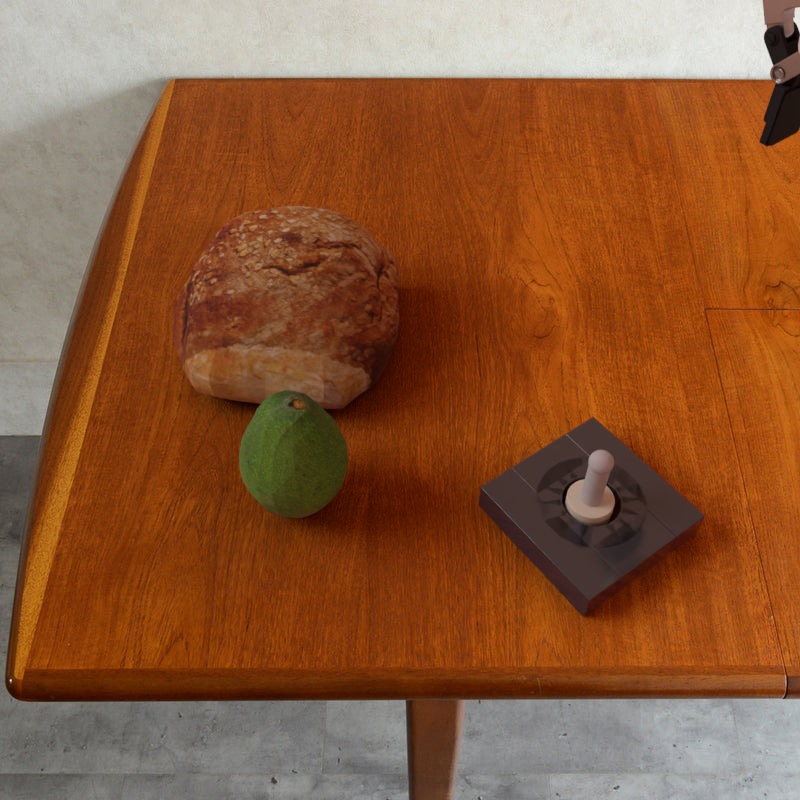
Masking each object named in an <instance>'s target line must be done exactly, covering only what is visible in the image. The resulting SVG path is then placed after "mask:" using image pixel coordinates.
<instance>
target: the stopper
mask: <svg viewBox="0 0 800 800" xmlns="http://www.w3.org/2000/svg"><path fill="white" fill-rule="evenodd" d="M588 464H589V465H588V469H587V473H586V477H585V479H583V480H579V481H577V482H575V483H574V484H572V485H571V486H570V488H569V489H568V492H567V496H566V500H565V501H564V504H563V506H564V508H565V511H566V512H567V513H568V514H569V515H570V516H571V517H572V518H573V519H574V520H576V521H578V522H580V523H582V524H584V525H590V526H602V525H606V524H609V523H610V520H611V517H612V515H613V508H614V505H615V498H614V495H613V493H612V491H611V490H610V489H609V488H608V487H607V486H606V484H607V481H608V478H609V474H610V471H611V470H612V468H613V466H614V459H613V457H612V455H611V454H610V453H609V452H608V451H605V450H597V451H595V452H593V453H592V454H591V455H590V457H589V460H588Z"/></svg>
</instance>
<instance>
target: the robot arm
mask: <svg viewBox="0 0 800 800" xmlns="http://www.w3.org/2000/svg"><path fill="white" fill-rule="evenodd" d="M796 8H800V0H762V9H763V19H764V20H763V21H764V26H766V30H765V32H764V33H763V42H764V45H765V47H766V50H767V53H768V56H769V58H770V61H771V64H772V67H771V68H770V71H769V76H770V79H771V81H772V82H773V83H774V87H773V90H772V91H771V92H772V93H771V95H770V99H769V101H768V104H767V107H766V110H765V113H764V115H763V122H764V123H765V124H764V127H763V129H762V132H761V135H760V138H759V143H760V144H762V145H763V146H765V147H772V146H775V145H776V144H779V143H780V142H782V141H784V140H786V139H788V138H790V137H791V136H793V135H794V136H795V134H797V133H798V132H799V131H800V30H799V26H798V25H797V23H796V22H795V21H794V18H795V17H796V16H795V15H796V14H795V12H796V11H795V10H796Z"/></svg>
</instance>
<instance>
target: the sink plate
mask: <svg viewBox="0 0 800 800" xmlns="http://www.w3.org/2000/svg"><path fill="white" fill-rule="evenodd" d="M597 450H605V451H608V452H609V453H610V454H611V455H612V457H613V459H614V466H613V468H612V470H611V471H610V474H609V478H608V481H607V484H606V486H607V487H608V488H609V489H610V490H611V491H612V493H613V495H614V498H615V505H614V508H613V512H612V515H613V517H614V519H613V520H612V521H611V522H610V521H609V524H606V525H602V526H590V525H584V524H582V523H580V522H578V521H576V520H574V519H573V518H572V517H571V516H570V515H569V514H568V513H567V512H566V511H565V508H564V504H563V503H565V500H566V496H567V492H568V489H569V488H570V486H571V485H572V484H574V483H575V482H577V481H579V480H583V479H585V477H586V473H587V469H588V465H589V464H588V460H589V457H590V455H591V454H592V453H593V452H595V451H597ZM478 495H479V496H478V506H479V508H480V509H482V511H483V512H484V513H485V514H486V515H487V516H488V517H489V518H490V519H491V520H492V521H493V522H494V524H496V526H498V528H500V530H501V531H502V532H503V533H504V534H505V535H506V536H507V537H508V539H510V540H511V541H512V543H513V544H515V546H516V547H517V548H518V549H519V550H520V551H521V553H523V554H524V555H525V557H526V558H527V559H528V560H529V561H530V562H532V564H533V565H534V566H535V567H536V568H537V569H538V570H539V571H540V572H541V573H542V574H543V575H544V576H545V577H546V578H547V580H548V581H549V582H550V583H551V584H552V585H553V586H554V587H555V588H556V589H557V590H558V592H560V593H561V595H562V596H563V597H564V598H565V599H566V600H567V601H568V603H570V604H571V605H572V606H573V607H574V608H575V609H576V610H577V612H578V613H579V614H580V615H581V616H582V617H583V618H584V617H586V616H588V615H590V613H591V612H593V611H594V610H595V609H597V608H598V607H600V606H601V605H602V604H604V603H605V602H607V601H608V600H609V599H610V598H612V597H614V596H615V594H617V593H619V592H620V591H622V590H623V589H624V588H626V586H628V585H629V584H630V583H632V582H633V581H635V580H636V579H637V578H639V577H640V576H642V574H644V573H646V572H647V571H648V570H650V569H651V568H652V567H653V566H655V565H656V564H658V563H659V562H660V561H662V560H663V559H664V558H666V557H667V556H668V555H669V554H671V553H672V552H674V551H675V550H676V549H678V548H679V547H681V546H682V545H684V544H685V543H686V542H688V541H689V540H690V539H691V538H693V537H694V536H696V535H697V534H698V531H699V530H700V528H701V525H702V524H703V521H704V519H705V514H704V513H703V512H702V511H701V510H699V509H698V507H696V506H695V505H694V504H692V503H691V502H690V501H689V500H688V499H687V498H686V497H685V496H684V495H682V493H680V492H679V491H678V490H676V488H674V486H672V485H671V484H670V483H669V482H668V481H667V480H666V479H665V478H663V477H662V476H661V475H660V474H659V473H658V472H656V471H655V470H654V469H653V468H652V467H651V466H650V465H649V464H647V463H646V462H645V461H644V460H643V459H642V458H641V457H640V456H638V455H637V454H636V453H635V452H634V451H632V450H631V449H630V447H628V445H626V444H625V443H623V441H621V439H619V438H618V437H617V436H616V435H614V433H612V432H611V431H610V430H609V429H608V428H607V427H606V426H605V425H603V424H602V423H601V422H600V421H599V420H598V419H597V418H595V417H594V416H592V417H590V418H589V419H587V420H585V421H584V422H582V423H581V424H579V425H577V426H576V427H574V428H573V429H571V430H570V431H567V432H566V433H564V434H562V435H561V436H560V437H558V438H556V439H555V440H553V441H552V442H550V443H549V444H547V445H545V446H544V447H542V448H540V449H538V450H537V451H536V452H534V453H532V454H530V455H529V456H528V457H526V458H524V459H523V460H521V461H519V462H518V463H517V464H514V465H513V466H512V467H510V468H508V469H507V470H506V471H504V472H502V473H500V474H499V475H497V476H496V477H494V478H493V479H491V480H489V481H487V482H486V483H484V484H483V485H481V486H480V488H479V494H478Z"/></svg>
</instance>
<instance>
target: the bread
mask: <svg viewBox="0 0 800 800" xmlns="http://www.w3.org/2000/svg"><path fill="white" fill-rule="evenodd" d="M192 267H193V268H192V271H191V273H190V275H189V277H188V279H187V281H186V282H185V283H184V284H183V285H182V286H181V289H180V290H179V293H178V294H177V297H176V299H175V303H174V311H173V312H174V314H173V316H174V318H173V332H172V333H173V334H172V346H173V348H174V350H175V352H176V354H177V356H178V359H179V361H180V363H181V366H182V370H183V373H184V375H185V378H186V380H187V382H188V383H189V384H190V385H191V387H192V388H193V389H194V390H195V391H196V392H197V393H198V394H202V395H206V396H209V397H214V398H218V399H223V400H229V401H236V402H242V403H250V404H256V405H261V404H262V402H263V401H264V400H265V399H266V398H268V397H269V396H271V395H273V394H275V393H278V392H281V391H284V390H292V391H297V392H301V393H305V394H306V395H307V396H309V397H310V398H312V399H313V400H314V401H315V402H317V403H318V404H319V405H320V406H321V407H322V408H323V409H324V410H326V409H327V410H343V409H344V408H346V406H348V405H349V404H350V403H351V402H352V401H353V400H355V399H356V398H357V397H358V396H361V394H363V393H364V392H366V391H367V390H370V388H372V387H374V386H375V385H376V383H377V382H378V380H379V379H380V377H381V376H382V374H383V372H384V371H385V369H386V367H387V365H388V363H389V361H390V359H391V356H392V354H393V352H394V349H395V347H396V345H397V342H398V337H399V330H400V308H399V268H398V263H397V260H396V258H395V256H394V255H393V254H392V252H391V250H390V249H389V248H388V247H387V246H385V245H383V244H381V243H378V242H377V241H376V240H375V238H374V237H373V235H372V234H371V232H370V231H369V230H367V229H366V228H365V227H364V226H363V225H361V224H360V223H359V222H357V221H356V220H354V219H353V218H351V217H349V216H347V215H346V214H343V213H342V212H339V211H336V210H335V211H334V210H331V209H326V208H322V207H321V208H320V207H315V206H302V205H301V206H300V205H288V206H287V205H286V206H276V207H271V208H265V209H257V210H249V211H247V212H243V213H241V214H239V215H236V216H235V217H234V218H232V219H230V220H229V221H228V222H226V223H225V224H224V225H222V227H221V228H220V229H219V230H218V232H217V233H216V234H215V236H214V237H213V238H212V240H211V241H210V243H208V245H207V247H206V248H205V249H204V250H203V252H202V253H201V254H200V256H199V257H198V259H197V260H196V262H195V263H194V265H193V266H192Z"/></svg>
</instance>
